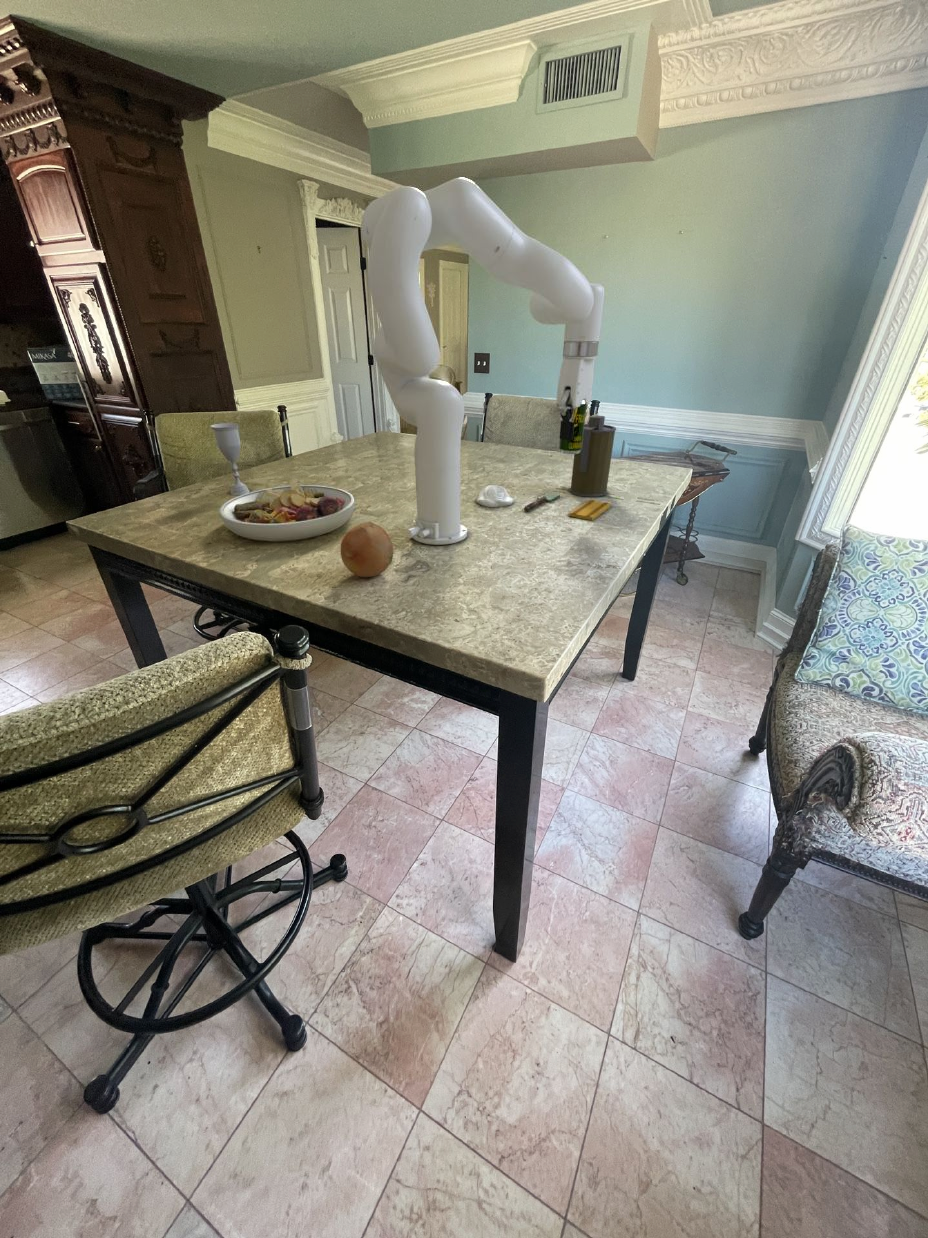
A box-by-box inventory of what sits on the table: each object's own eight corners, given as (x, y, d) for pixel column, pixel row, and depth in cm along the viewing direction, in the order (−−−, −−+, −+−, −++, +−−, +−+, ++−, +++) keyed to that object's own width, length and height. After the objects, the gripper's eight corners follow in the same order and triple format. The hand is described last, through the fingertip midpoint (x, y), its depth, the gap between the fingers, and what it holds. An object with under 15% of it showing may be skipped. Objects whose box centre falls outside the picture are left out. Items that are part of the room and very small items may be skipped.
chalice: (247, 496, 139) (231, 427, 130) (222, 496, 139) (205, 427, 130) (256, 488, 145) (243, 422, 136) (233, 488, 145) (218, 422, 136)
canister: (578, 484, 149) (587, 412, 138) (612, 490, 143) (623, 415, 133) (562, 493, 141) (570, 417, 131) (597, 499, 136) (608, 421, 126)
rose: (487, 478, 137) (520, 483, 133) (487, 494, 140) (519, 499, 135) (470, 487, 130) (503, 493, 126) (470, 504, 132) (503, 510, 128)
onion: (351, 562, 100) (345, 514, 94) (400, 564, 99) (397, 515, 94) (335, 584, 91) (328, 532, 86) (389, 586, 90) (384, 534, 85)
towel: (592, 520, 121) (592, 516, 121) (569, 515, 124) (569, 512, 124) (610, 506, 131) (611, 503, 130) (588, 502, 133) (589, 499, 133)
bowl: (195, 533, 113) (185, 499, 109) (288, 498, 137) (282, 468, 133) (298, 556, 102) (291, 519, 98) (380, 513, 126) (377, 482, 122)
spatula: (532, 513, 126) (532, 507, 125) (518, 510, 128) (518, 505, 127) (560, 496, 138) (560, 491, 137) (546, 494, 140) (547, 489, 139)
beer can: (554, 450, 122) (558, 397, 115) (571, 448, 124) (577, 395, 118) (568, 455, 117) (573, 399, 111) (586, 452, 120) (592, 398, 114)
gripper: (579, 349, 118) (571, 430, 127) (547, 352, 105) (541, 441, 115) (610, 350, 114) (599, 433, 123) (581, 353, 102) (571, 445, 111)
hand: (571, 436), depth 119 cm, fingers closed on beer can, 5 cm apart
